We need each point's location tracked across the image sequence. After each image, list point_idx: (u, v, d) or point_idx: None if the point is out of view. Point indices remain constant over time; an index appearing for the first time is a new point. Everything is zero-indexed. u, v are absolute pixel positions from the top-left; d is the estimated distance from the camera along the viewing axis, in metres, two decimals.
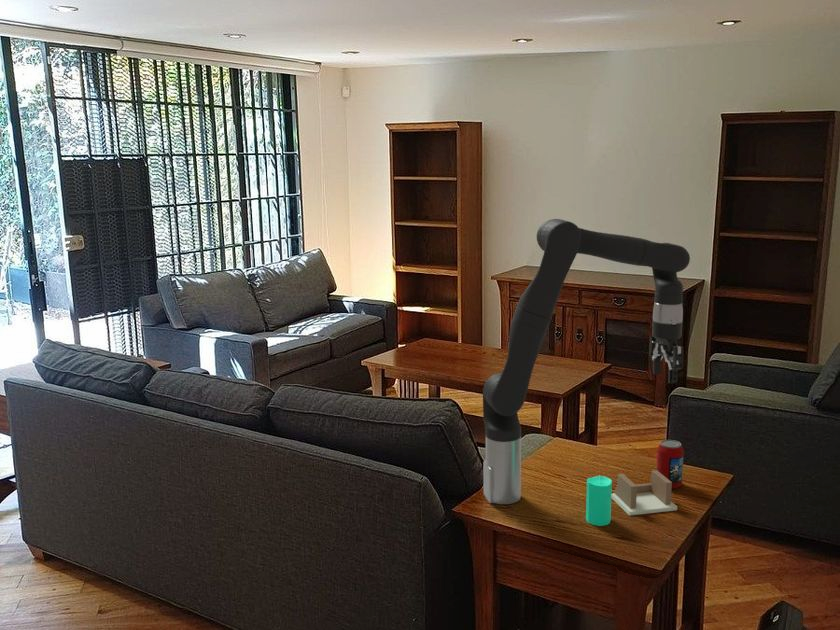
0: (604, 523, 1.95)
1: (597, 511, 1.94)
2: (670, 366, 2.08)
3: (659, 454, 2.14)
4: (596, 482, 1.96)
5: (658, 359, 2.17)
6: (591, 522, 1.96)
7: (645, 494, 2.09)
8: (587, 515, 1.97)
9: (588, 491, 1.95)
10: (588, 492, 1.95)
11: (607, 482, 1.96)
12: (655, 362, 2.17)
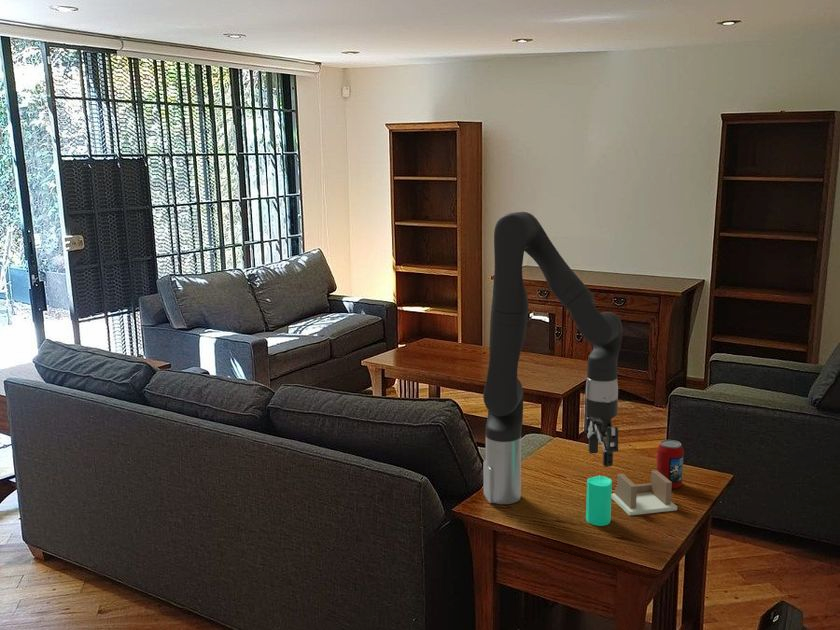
0: (604, 523, 1.95)
1: (597, 511, 1.94)
2: (604, 448, 1.89)
3: (659, 454, 2.14)
4: (596, 482, 1.96)
5: (594, 437, 1.98)
6: (591, 522, 1.96)
7: (645, 494, 2.09)
8: (587, 515, 1.97)
9: (588, 491, 1.95)
10: (588, 492, 1.95)
11: (607, 482, 1.96)
12: (591, 440, 1.97)
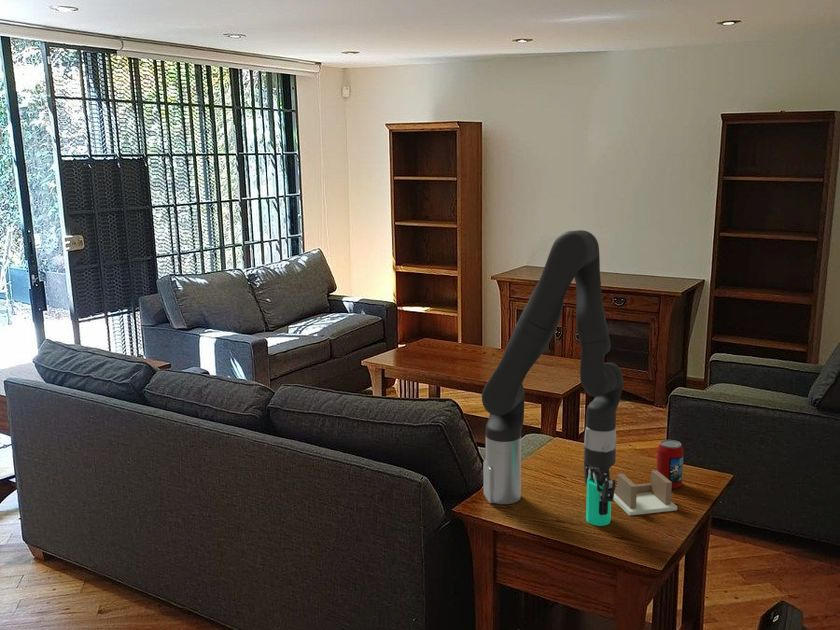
0: (604, 523, 1.95)
1: (597, 511, 1.94)
2: (600, 498, 1.93)
3: (659, 454, 2.14)
4: None
5: None
6: (591, 522, 1.96)
7: (645, 494, 2.09)
8: (587, 515, 1.97)
9: (588, 491, 1.95)
10: (588, 492, 1.95)
11: None
12: None
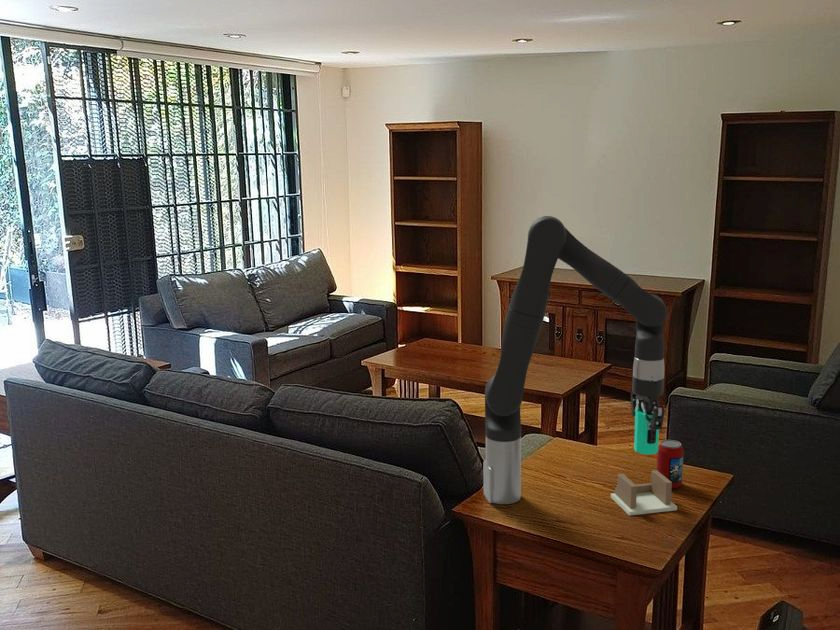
0: (652, 452, 2.00)
1: (646, 440, 2.00)
2: (648, 426, 1.98)
3: (659, 454, 2.14)
4: None
5: None
6: (640, 451, 2.01)
7: (645, 494, 2.09)
8: (636, 445, 2.02)
9: (637, 421, 2.00)
10: (637, 422, 2.01)
11: None
12: None
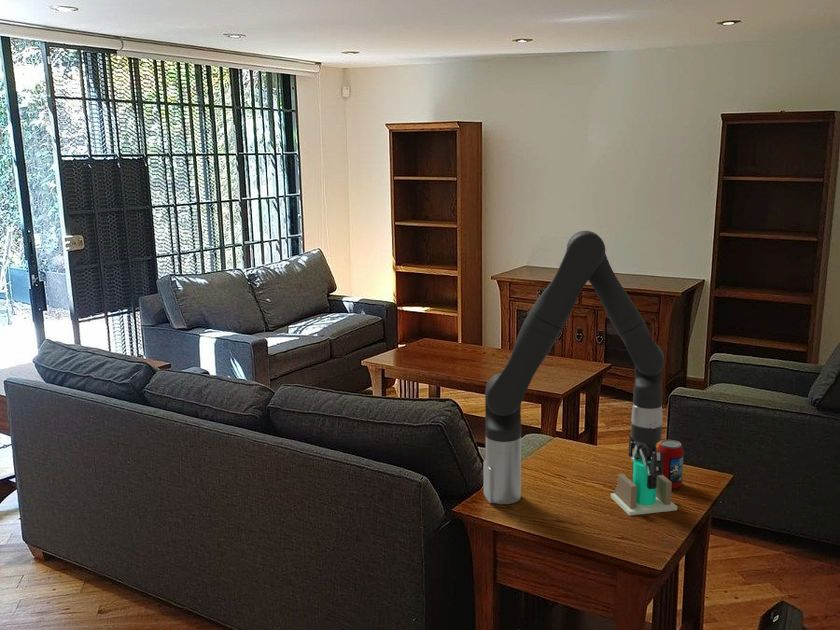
0: (650, 502, 2.03)
1: (644, 491, 2.02)
2: (649, 472, 1.99)
3: None
4: (642, 463, 2.04)
5: None
6: (638, 502, 2.04)
7: None
8: None
9: (635, 472, 2.03)
10: (635, 473, 2.03)
11: None
12: None
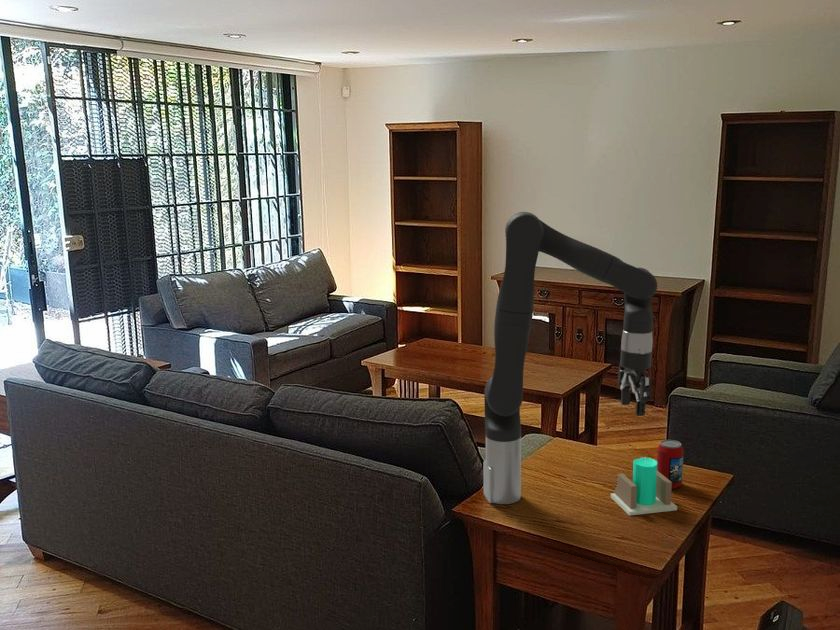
0: (650, 502, 2.03)
1: (644, 491, 2.02)
2: (637, 398, 1.97)
3: (659, 454, 2.14)
4: (642, 463, 2.04)
5: (627, 389, 2.06)
6: (638, 502, 2.04)
7: None
8: None
9: (635, 472, 2.03)
10: (635, 473, 2.03)
11: (653, 463, 2.04)
12: (623, 392, 2.06)
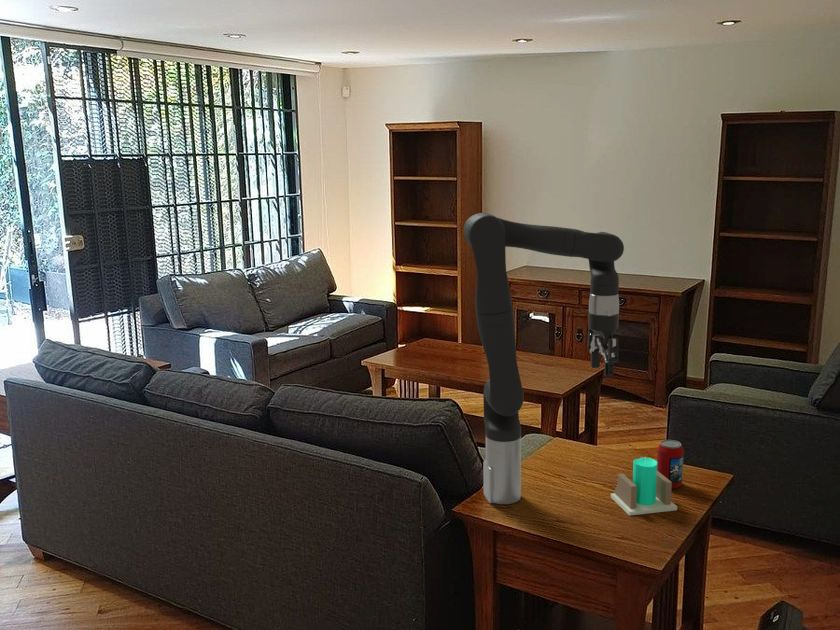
0: (650, 502, 2.03)
1: (644, 491, 2.02)
2: (606, 359, 2.02)
3: (659, 454, 2.14)
4: (642, 463, 2.04)
5: (596, 352, 2.11)
6: (638, 502, 2.04)
7: None
8: None
9: (635, 472, 2.03)
10: (635, 473, 2.03)
11: (653, 463, 2.04)
12: (593, 355, 2.10)
